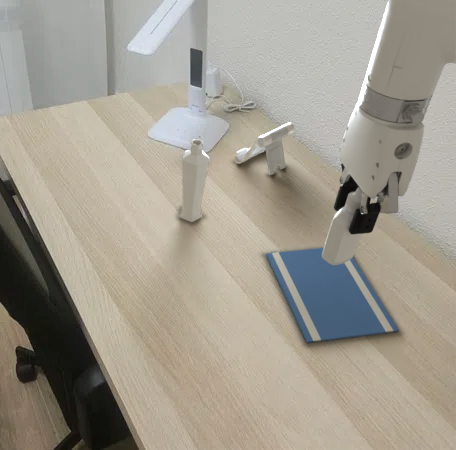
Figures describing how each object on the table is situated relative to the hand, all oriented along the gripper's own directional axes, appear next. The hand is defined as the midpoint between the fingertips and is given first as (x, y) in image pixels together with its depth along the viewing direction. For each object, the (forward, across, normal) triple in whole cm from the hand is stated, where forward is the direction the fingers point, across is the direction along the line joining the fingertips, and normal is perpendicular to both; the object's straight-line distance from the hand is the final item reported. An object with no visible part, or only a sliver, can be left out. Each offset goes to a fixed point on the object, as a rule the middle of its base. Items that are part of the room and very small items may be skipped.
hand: (352, 219), depth 75 cm
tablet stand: (+15, +35, -1) cm, 38 cm away
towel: (+14, 0, 0) cm, 14 cm away
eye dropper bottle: (+7, 0, 0) cm, 7 cm away
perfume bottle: (+15, +21, +17) cm, 31 cm away
